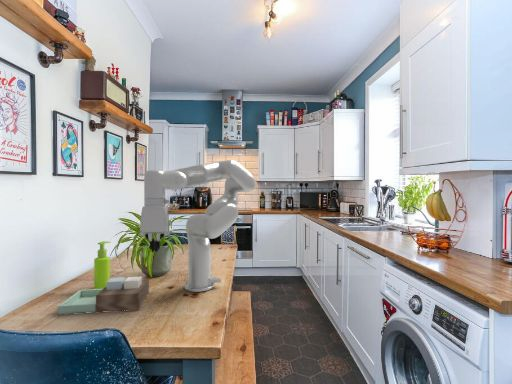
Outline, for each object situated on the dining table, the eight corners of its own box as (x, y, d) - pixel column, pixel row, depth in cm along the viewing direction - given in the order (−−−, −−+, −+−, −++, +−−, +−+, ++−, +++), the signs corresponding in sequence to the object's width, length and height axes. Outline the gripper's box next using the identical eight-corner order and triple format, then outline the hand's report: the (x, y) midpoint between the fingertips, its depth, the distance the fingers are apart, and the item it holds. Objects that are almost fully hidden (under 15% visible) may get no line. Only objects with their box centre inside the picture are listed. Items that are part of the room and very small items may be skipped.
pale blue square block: (125, 284, 109) (125, 277, 109) (121, 289, 104) (121, 281, 104) (111, 285, 108) (111, 277, 108) (106, 289, 104) (106, 282, 103)
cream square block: (141, 283, 110) (141, 276, 110) (138, 288, 105) (138, 280, 105) (128, 284, 109) (127, 277, 109) (123, 288, 104) (123, 281, 104)
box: (111, 295, 114) (111, 288, 114) (95, 312, 98) (95, 304, 98) (79, 297, 112) (79, 289, 112) (58, 315, 96) (57, 306, 96)
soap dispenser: (114, 286, 125) (114, 240, 125) (102, 291, 118) (102, 243, 118) (103, 285, 127) (103, 240, 127) (91, 290, 120) (90, 243, 120)
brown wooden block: (148, 293, 116) (148, 279, 116) (138, 310, 100) (138, 293, 100) (112, 295, 114) (112, 280, 114) (96, 312, 98) (95, 295, 98)
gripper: (176, 202, 113) (176, 248, 113) (136, 202, 111) (136, 249, 111) (174, 203, 106) (174, 252, 106) (131, 203, 103) (131, 253, 104)
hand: (155, 250), depth 108 cm, fingers closed
